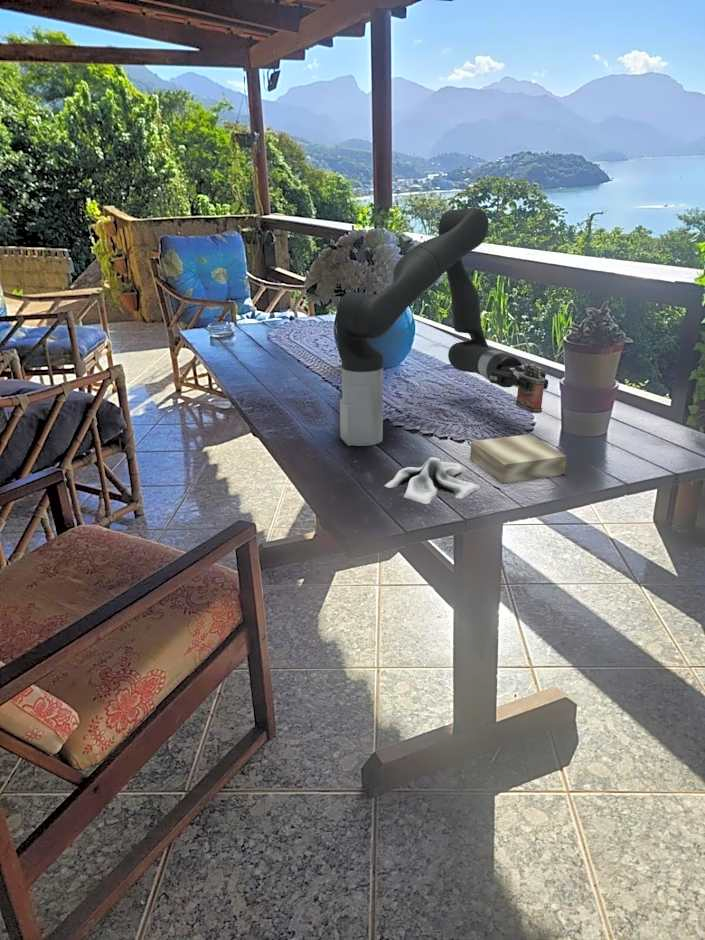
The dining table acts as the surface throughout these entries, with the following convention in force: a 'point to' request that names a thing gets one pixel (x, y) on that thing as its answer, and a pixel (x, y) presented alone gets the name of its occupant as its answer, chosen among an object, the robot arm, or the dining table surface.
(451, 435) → the dining table surface
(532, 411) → the lighter
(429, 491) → the cloth
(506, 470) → the base block
